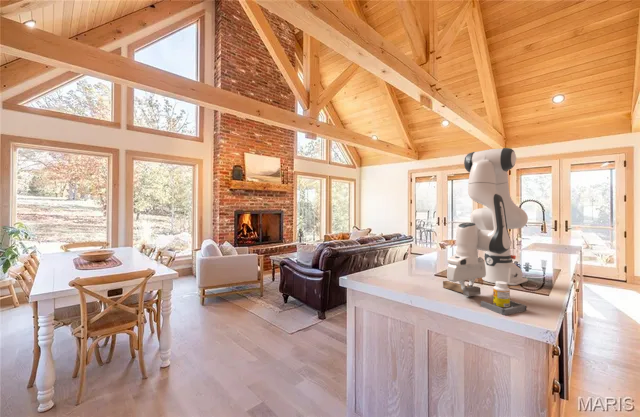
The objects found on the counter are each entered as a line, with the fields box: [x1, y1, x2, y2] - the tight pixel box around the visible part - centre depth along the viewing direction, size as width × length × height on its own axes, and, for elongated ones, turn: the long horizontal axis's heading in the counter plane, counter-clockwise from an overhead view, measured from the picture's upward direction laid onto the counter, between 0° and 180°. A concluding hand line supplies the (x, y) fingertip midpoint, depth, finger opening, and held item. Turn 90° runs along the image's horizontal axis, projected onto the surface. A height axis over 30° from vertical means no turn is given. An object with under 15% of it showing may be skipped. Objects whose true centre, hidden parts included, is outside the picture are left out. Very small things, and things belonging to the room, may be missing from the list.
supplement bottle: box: [492, 281, 511, 309], centre depth 112 cm, size 6×6×10 cm
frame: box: [480, 299, 527, 316], centre depth 111 cm, size 12×10×2 cm
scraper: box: [442, 280, 481, 297], centre depth 131 cm, size 17×7×3 cm, turn 21°
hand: (467, 288), depth 127 cm, fingers closed on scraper, 2 cm apart
